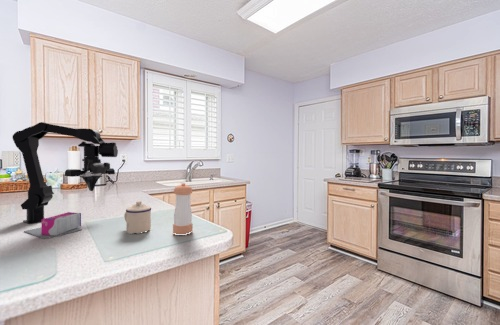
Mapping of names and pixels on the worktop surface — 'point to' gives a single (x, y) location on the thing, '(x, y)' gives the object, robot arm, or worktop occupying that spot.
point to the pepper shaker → (182, 210)
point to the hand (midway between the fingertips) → (91, 190)
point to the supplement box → (60, 223)
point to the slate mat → (38, 233)
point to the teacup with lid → (138, 218)
